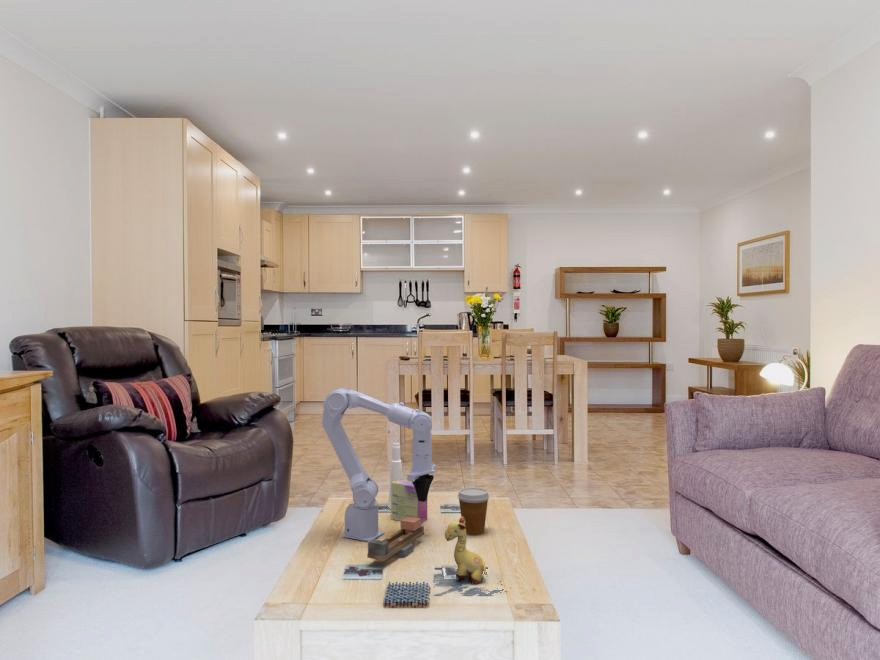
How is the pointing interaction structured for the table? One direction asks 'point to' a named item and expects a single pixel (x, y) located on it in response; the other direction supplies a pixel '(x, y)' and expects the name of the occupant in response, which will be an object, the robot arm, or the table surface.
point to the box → (406, 501)
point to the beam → (394, 545)
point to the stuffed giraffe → (463, 564)
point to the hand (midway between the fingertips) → (422, 500)
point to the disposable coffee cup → (473, 509)
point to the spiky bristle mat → (407, 595)
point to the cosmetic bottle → (395, 467)
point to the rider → (410, 524)
